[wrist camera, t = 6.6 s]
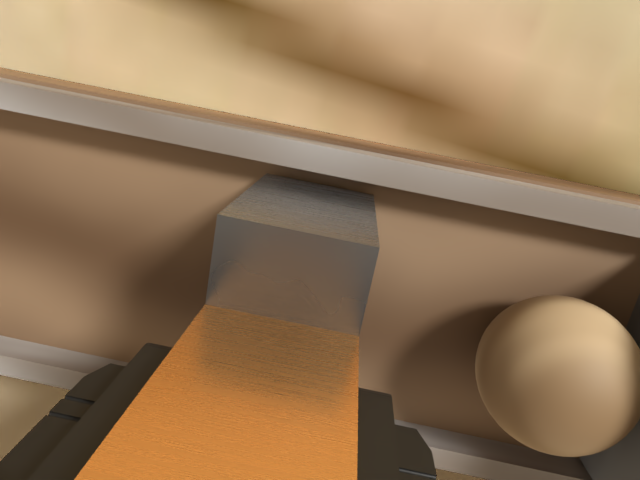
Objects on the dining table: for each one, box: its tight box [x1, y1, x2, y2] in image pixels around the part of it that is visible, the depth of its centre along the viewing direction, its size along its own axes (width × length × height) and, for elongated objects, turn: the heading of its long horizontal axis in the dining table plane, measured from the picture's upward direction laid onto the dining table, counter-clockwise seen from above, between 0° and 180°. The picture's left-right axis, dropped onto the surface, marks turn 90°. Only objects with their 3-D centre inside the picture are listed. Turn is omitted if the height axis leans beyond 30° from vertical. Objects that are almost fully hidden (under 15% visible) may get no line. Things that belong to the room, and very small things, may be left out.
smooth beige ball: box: [475, 295, 640, 457], centre depth 13 cm, size 4×4×4 cm
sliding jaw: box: [74, 173, 380, 480], centre depth 10 cm, size 7×3×11 cm, turn 169°
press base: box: [0, 68, 640, 480], centre depth 13 cm, size 9×34×8 cm, turn 79°
